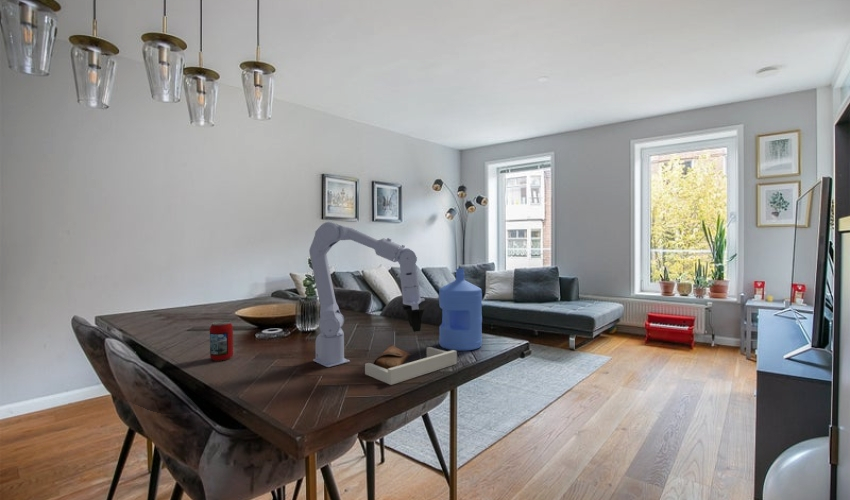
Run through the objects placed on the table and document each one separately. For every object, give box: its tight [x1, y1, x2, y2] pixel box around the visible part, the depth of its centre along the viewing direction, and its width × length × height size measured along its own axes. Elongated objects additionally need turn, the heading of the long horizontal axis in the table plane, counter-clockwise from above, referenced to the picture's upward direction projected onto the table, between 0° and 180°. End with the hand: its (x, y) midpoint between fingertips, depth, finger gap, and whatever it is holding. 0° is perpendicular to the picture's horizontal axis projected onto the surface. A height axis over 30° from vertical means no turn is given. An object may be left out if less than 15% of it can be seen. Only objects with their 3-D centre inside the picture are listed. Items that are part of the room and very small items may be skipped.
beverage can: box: [209, 320, 234, 362], centre depth 131 cm, size 7×7×12 cm
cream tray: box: [364, 346, 458, 386], centre depth 120 cm, size 12×26×4 cm, turn 133°
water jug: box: [438, 268, 483, 352], centre depth 145 cm, size 16×16×28 cm
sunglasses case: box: [372, 344, 413, 370], centre depth 127 cm, size 18×7×7 cm
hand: (415, 328), depth 128 cm, fingers open, 7 cm apart
